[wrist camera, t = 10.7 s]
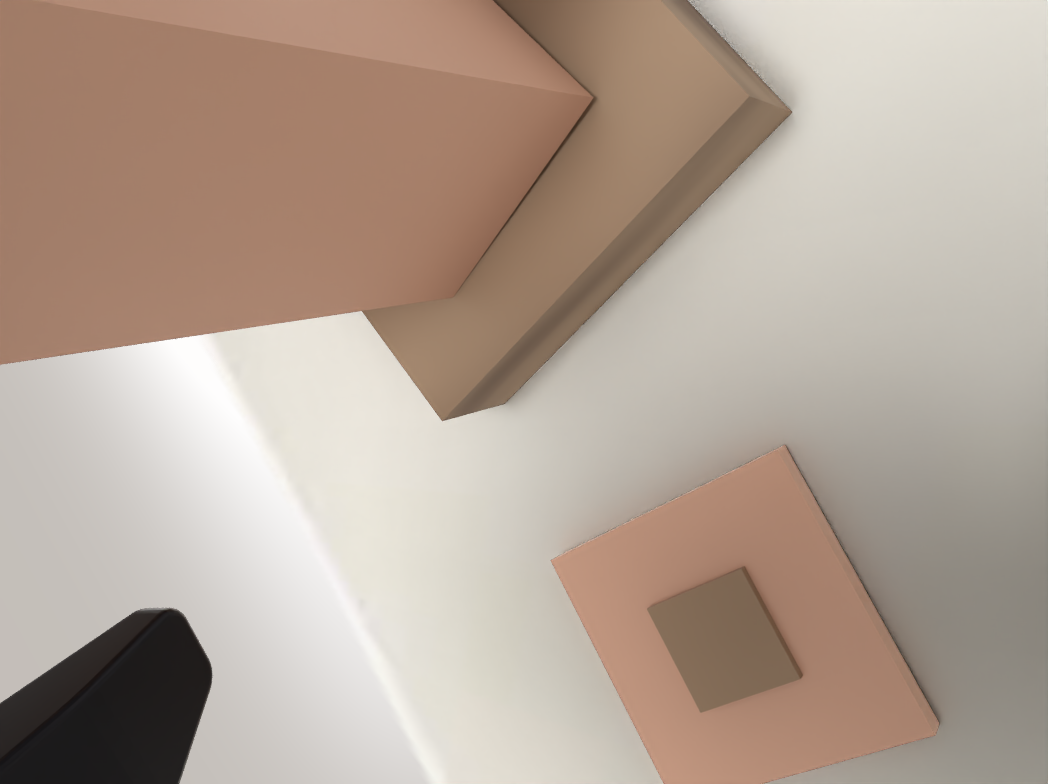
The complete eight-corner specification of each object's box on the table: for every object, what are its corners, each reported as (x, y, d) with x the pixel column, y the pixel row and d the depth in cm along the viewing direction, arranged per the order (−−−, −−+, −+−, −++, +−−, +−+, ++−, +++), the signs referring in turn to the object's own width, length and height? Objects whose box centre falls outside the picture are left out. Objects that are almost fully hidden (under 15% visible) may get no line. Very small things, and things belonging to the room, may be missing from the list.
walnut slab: (799, 114, 18) (749, 96, 16) (516, 400, 23) (442, 420, 20) (526, -176, 21) (444, -234, 18) (315, 135, 25) (226, 124, 22)
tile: (939, 723, 18) (934, 740, 17) (684, 796, 21) (672, 812, 21) (784, 444, 19) (773, 451, 18) (561, 554, 22) (546, 562, 21)
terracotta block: (593, 97, 17) (-161, -34, 7) (453, 297, 20) (-250, 401, 10) (424, -66, 18) (-405, -363, 9) (313, 140, 21) (-428, 93, 11)
